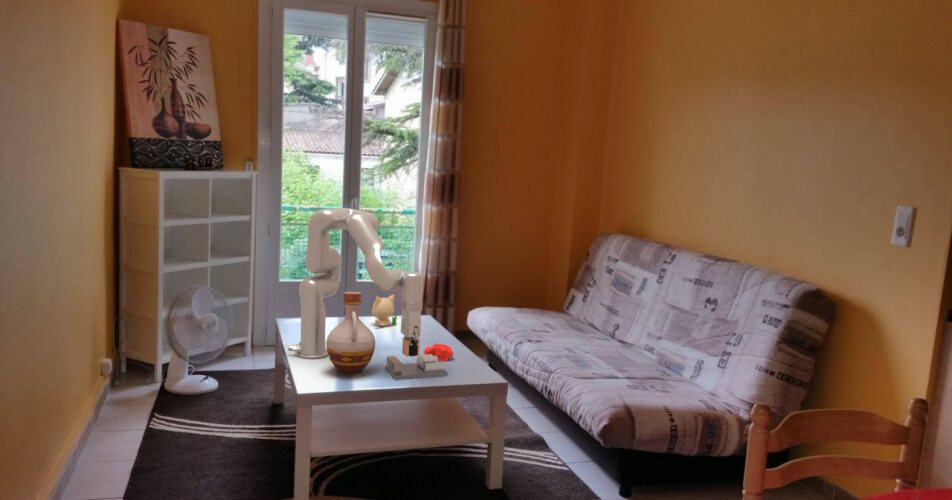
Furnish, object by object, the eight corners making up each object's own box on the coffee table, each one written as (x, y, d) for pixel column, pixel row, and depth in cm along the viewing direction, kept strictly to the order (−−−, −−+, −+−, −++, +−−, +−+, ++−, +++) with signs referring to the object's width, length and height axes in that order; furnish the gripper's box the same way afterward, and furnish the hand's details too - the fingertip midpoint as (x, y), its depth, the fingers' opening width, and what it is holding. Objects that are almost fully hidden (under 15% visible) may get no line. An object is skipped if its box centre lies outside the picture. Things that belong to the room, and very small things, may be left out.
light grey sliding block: (423, 369, 264) (424, 359, 264) (418, 365, 269) (418, 354, 269) (436, 368, 266) (436, 358, 266) (430, 364, 272) (431, 354, 271)
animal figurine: (444, 352, 299) (445, 340, 298) (457, 361, 285) (457, 348, 284) (418, 353, 294) (418, 341, 294) (429, 362, 281) (430, 350, 280)
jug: (378, 379, 255) (381, 297, 252) (328, 381, 250) (330, 297, 247) (370, 364, 274) (373, 287, 270) (323, 365, 269) (325, 287, 265)
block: (406, 356, 261) (406, 340, 260) (402, 353, 266) (402, 337, 265) (419, 355, 263) (419, 339, 262) (414, 352, 268) (415, 336, 267)
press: (395, 380, 256) (396, 365, 255) (384, 369, 268) (385, 354, 268) (447, 375, 264) (448, 361, 263) (434, 365, 277) (434, 351, 276)
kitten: (390, 321, 348) (391, 291, 346) (402, 326, 340) (403, 295, 339) (364, 325, 338) (365, 294, 336) (376, 329, 330) (377, 298, 329)
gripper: (395, 301, 268) (394, 348, 270) (409, 310, 253) (408, 360, 255) (414, 300, 271) (412, 347, 273) (429, 309, 256) (427, 359, 258)
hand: (410, 353), depth 264 cm, fingers closed on block, 5 cm apart
